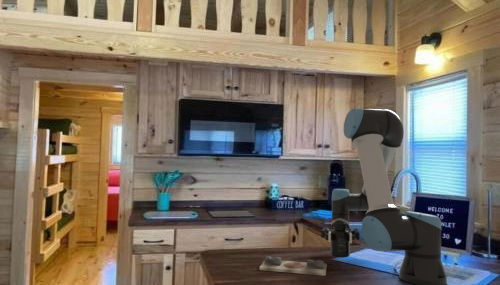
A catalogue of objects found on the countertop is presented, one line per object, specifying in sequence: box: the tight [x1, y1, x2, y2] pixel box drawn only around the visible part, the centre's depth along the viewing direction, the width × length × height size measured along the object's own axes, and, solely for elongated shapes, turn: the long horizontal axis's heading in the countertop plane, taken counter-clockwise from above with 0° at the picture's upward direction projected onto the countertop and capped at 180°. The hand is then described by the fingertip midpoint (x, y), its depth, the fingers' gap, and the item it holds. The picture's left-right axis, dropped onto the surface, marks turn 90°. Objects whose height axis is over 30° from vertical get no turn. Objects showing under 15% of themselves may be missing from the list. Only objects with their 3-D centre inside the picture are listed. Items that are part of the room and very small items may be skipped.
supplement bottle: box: [330, 222, 351, 258], centre depth 145 cm, size 7×7×12 cm
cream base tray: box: [258, 255, 328, 277], centre depth 148 cm, size 24×12×3 cm, turn 77°
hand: (340, 238), depth 140 cm, fingers closed on supplement bottle, 7 cm apart
